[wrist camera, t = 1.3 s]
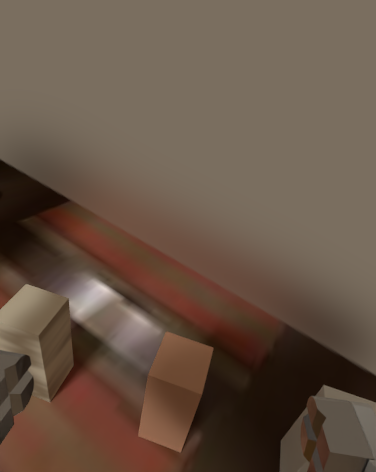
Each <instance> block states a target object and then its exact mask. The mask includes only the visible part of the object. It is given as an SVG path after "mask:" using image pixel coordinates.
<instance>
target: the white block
mask: <svg viewBox="0 0 376 472" xmlns="http://www.w3.org/2000/svg"><path fill="white" fill-rule="evenodd" d="M316 396H317V397H325V398H332V399H340V400H347V401H354V402H361V403H368V404H369V405H370V406H371V407H372V409H373V411H374V413H375V415H376V403H375V402H373V401H370V400H367V399H364V398H361V397H358V396H355V395H352V394H349V393H346V392H343V391H340V390H337V389H334V388H331V387H329V386H326V385H323V387H322V388H321V389H320V391H319V392H318V393H317V394H316ZM307 414H308V410H307V407H306V409H305V410H304V411H303V413H302V414H301V415H300V416H299V418H298V419H297V420H296V422H295V423H294V424H293V426H292V427H291V428H290V429H289V431H288V432H287V433H286V435H285V436H284V437H283V439H282V440H281V448H280V472H307V470H308V467H309V464H310V463H309V462H308V460H307V459H306V458H305V457H304V456H303V452H302V447H301V437H300V435H301V424H302V420H303V417H304V416H305V415H307Z"/></svg>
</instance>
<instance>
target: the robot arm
mask: <svg viewBox="0 0 376 472" xmlns="http://www.w3.org/2000/svg"><path fill="white" fill-rule="evenodd" d="M30 366H31V360H30V356H28V355H26V354H20V353H14V352H8V351H3V350H0V444H1V443H2V441H3V440H4V438H5V437H6V435H7V434H8V432H9V431H10V429H11V428H12V426H13V425H14V416H15V415H17V414H18V413H20V412H21V411H23V410H24V409H25V407H26V405H27V404H28V402H29V400H30V398H31V395H32V392H33V388H34V379H33V375H32V374H31V373H30V372H29V371H28V369H29V367H30ZM306 406H307V410H308V414H307V415H305V416H304V417H303V420H302V424H301V435H300V437H301V447H302V452H303V456H304V457H305V458H306V459H307V460H308V462H309V463H310V464H309V467H308V470H307V472H376V415H375V413H374V411H373V409H372V407H371V406H370V405H369V404H368V403H361V402H354V401H347V400H340V399H332V398H325V397H317V396H310V398H309V399H308V402H307V405H306Z"/></svg>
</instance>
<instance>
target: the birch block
mask: <svg viewBox="0 0 376 472" xmlns="http://www.w3.org/2000/svg"><path fill="white" fill-rule="evenodd" d="M0 350H3V351H8V352H14V353H20V354H26V355H28V356H30V360H31V366H30V367H29V369H28V371H29V372H30V373H31V374H32V375H33V379H34V388H33V392H32V395H33V396H35V397H38V398H40V399H43V400H45V401H48V402H51V400H52V399H53V397H54V395H55V394H56V392H57V391H58V389H59V388H60V386H61V384H62V383H63V381H64V380H65V378H66V377H67V375H68V373H69V372H70V370H71V369H72V367H73V366H74V362H73V349H72V336H71V324H70V311H69V298H66V297H63V296H60V295H57V294H54V293H51V292H48V291H45V290H42V289H39V288H36V287H33V286H31V285H28V284H26V285H25V286H24V287H23V288H22V289H21V290H20V291H19V292H18V293H17V294H16V295H15V296H14V297H13V298H12V299H11V300H10V301H9V302H8V303H7V304H6V305H5V306H3V307H2V308H1V309H0Z"/></svg>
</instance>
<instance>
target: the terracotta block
mask: <svg viewBox="0 0 376 472" xmlns="http://www.w3.org/2000/svg"><path fill="white" fill-rule="evenodd" d="M213 349H214V348H213V347H210V346H207V345H204V344H201V343H198V342H196V341H193V340H190V339H187V338H184V337H181V336H178V335H175V334H172V333H169V332H166V333H165V336H164V338H163V340H162V343H161V345H160V348H159V350H158V353H157V355H156V357H155V360H154V362H153V365H152V367H151V369H150V372H149V374H148V379H147V385H146V391H145V398H144V404H143V410H142V416H141V422H140V428H139V434H138V436H139V437H142V438H145V439H147V440H150V441H152V442H155V443H158V444H160V445H163V446H165V447H168V448H170V449H173V450H176V451H178V452H181V451H182V448H183V445H184V442H185V440H186V437H187V434H188V431H189V429H190V426H191V423H192V421H193V418H194V415H195V412H196V410H197V407H198V404H199V401H200V399H201V396H202V393H203V389H204V385H205V381H206V377H207V373H208V369H209V365H210V361H211V357H212V353H213Z"/></svg>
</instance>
